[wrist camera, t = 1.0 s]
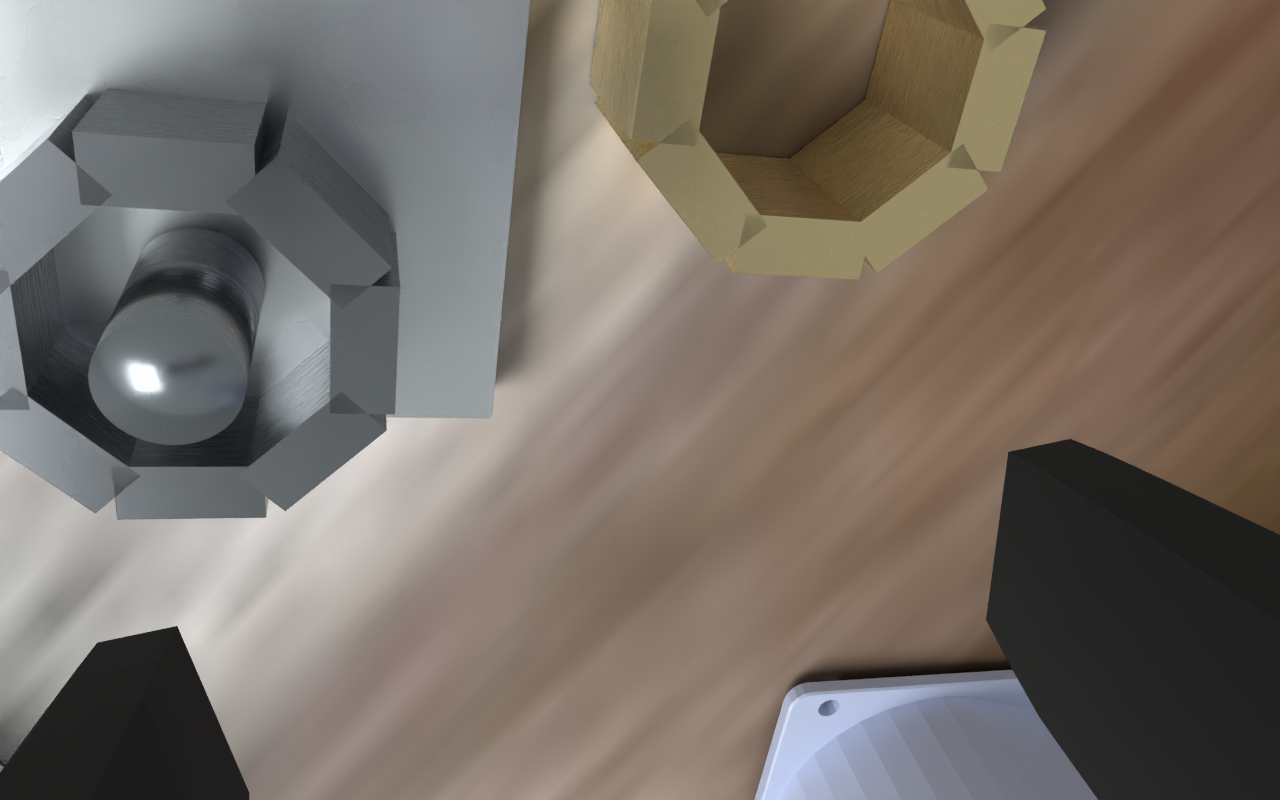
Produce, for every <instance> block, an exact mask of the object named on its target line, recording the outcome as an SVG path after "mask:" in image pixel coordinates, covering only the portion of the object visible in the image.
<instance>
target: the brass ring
mask: <svg viewBox="0 0 1280 800" xmlns="http://www.w3.org/2000/svg"><path fill="white" fill-rule="evenodd" d="M727 1H728V0H600V5H599V13H598V22H597V30H596V38H595V46H594V54H593V62H592V71H591V79H590V85H591V87H592V88H593V89H594V91H595V92H596V93H597V95H598V96H599V97H600V99H598V100H597V101H596V102H595V104H596V105H597V107H598V108H599V109H600V111H601V112H602V114H603V115H604V116H605V118H606V119H607V121H608V122H609V123H610V125H611V126H612V128H613V129H614V130H615V132H616V133H617V135H618V136H619V137H620V139H621V140H622V142H623V143H624V144H625V146H626V147H627V148H628V150H629V151H630V153H631V154H632V155H633V157H634V158H635V160H636V161H637V162H638V164H639V165H640V166H641V168H642V169H643V170H644V171H645V173H646V174H647V175H648V177H649V178H650V179H651V180H652V182H653V183H654V184H655V186H656V187H657V188H658V189H659V191H660V192H661V193H662V195H663V196H664V197H665V198H666V200H667V201H668V202H669V204H670V205H671V206H672V207H673V209H674V210H675V211H676V213H677V214H678V215H679V216H680V218H681V219H682V220H683V222H684V223H685V224H686V225H687V227H688V228H689V229H690V231H691V232H692V233H693V234H694V236H695V237H696V238H697V240H698V241H699V242H700V243H701V245H702V246H703V247H704V249H705V250H706V251H707V252H708V254H709V255H710V256H711V258H712V259H713V260H714V261H715V263H716V264H717V265H718V264H719V263H720V262H722V261H723V260H724V261H725V262H726V264H727V265H728V266H729V268H730V269H731V270H732V272H733V273H741V274H761V275H780V276H800V277H819V278H839V279H858V280H859V277H860V273H861V269H862V266H863V262H864V261H865V262H866V263H867V264H868V265H869V266H870V267H871V268H872V269H873V270H874V271H875V272H876V273H878V272H880V271H881V270H882V269H884V268H885V267H886V266H888V265H889V264H890V263H892V262H893V261H894V260H896V259H897V258H898V257H900V256H901V255H902V254H904V253H905V252H906V251H907V250H909V249H910V248H911V247H913V246H914V245H915V244H917V243H918V242H919V241H921V240H922V239H923V238H925V237H926V236H927V235H929V234H930V233H931V232H933V231H934V230H935V229H937V228H938V227H939V226H941V225H942V224H943V223H945V222H946V221H947V220H949V219H950V218H951V217H953V216H954V215H955V214H956V213H958V212H959V211H960V210H962V209H963V208H964V207H966V206H967V205H968V204H970V203H971V202H972V201H974V200H975V199H976V198H978V197H979V196H980V195H982V194H983V193H984V192H986V191H987V190H988V188H987V186H986V184H985V183H984V181H983V179H982V177H981V175H980V174H979V172H978V170H982V171H994V172H1001V170H1002V167H1003V164H1004V160H1005V157H1006V154H1007V151H1008V148H1009V145H1010V142H1011V139H1012V136H1013V133H1014V130H1015V126H1016V123H1017V120H1018V117H1019V114H1020V111H1021V108H1022V105H1023V102H1024V99H1025V96H1026V92H1027V89H1028V86H1029V83H1030V80H1031V77H1032V74H1033V71H1034V68H1035V65H1036V62H1037V58H1038V55H1039V52H1040V49H1041V46H1042V43H1043V40H1044V37H1045V34H1046V30H1043V29H1041V28H1038V27H1035V26H1033V25H1030V24H1027V23H1029V22H1030V21H1031V20H1032V19H1034V18H1035V17H1036V16H1038V15H1039V14H1040V13H1041V12H1043V11H1044V10H1045V9H1046V8H1045V5H1044V3H1043V1H1042V0H890V3H889V7H888V11H887V15H886V19H885V23H884V27H883V31H882V35H881V39H880V43H879V47H878V51H877V55H876V59H875V63H874V67H873V71H872V75H871V79H870V83H869V87H868V91H867V95H866V99H865V100H863V101H862V102H861V103H860V104H858V105H857V106H856V107H855V108H853V109H852V110H851V111H850V112H848V113H847V114H846V115H844V116H843V117H842V118H841V119H839V120H838V121H837V122H836V123H834V124H833V125H832V126H830V127H829V128H828V129H827V130H825V131H824V132H823V133H822V134H820V135H819V136H818V137H817V138H815V139H814V140H813V141H811V142H810V143H809V144H808V145H806V146H805V147H804V148H803V149H801V150H800V151H799V152H797V153H796V154H795V155H794V156H792V157H791V158H790V159H789V158H777V157H765V156H753V155H741V154H729V153H717V152H714V151H713V149H712V148H711V146H710V145H709V144H708V142H707V141H706V139H705V138H704V137H703V135H702V134H701V133H700V131H699V127H700V122H701V116H702V110H703V105H704V99H705V93H706V88H707V82H708V76H709V71H710V65H711V59H712V54H713V48H714V42H715V37H716V31H717V25H718V20H719V14H720V8H721V6H722V5H723V4H725V3H726V2H727Z"/></svg>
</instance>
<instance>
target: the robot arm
mask: <svg viewBox="0 0 1280 800" xmlns="http://www.w3.org/2000/svg"><path fill="white" fill-rule="evenodd" d="M986 620H987V622H988V624H989V626H990V628H991V630H992V632H993V634H994V636H995V637H996V639H997V641H998V643H999V645H1000V647H1001V649H1002V651H1003V653H1004V655H1005V657H1006V658H1007V660H1008V662H1009V664H1010V666H1011V668H1012V670H1000V671H984V672H968V673H951V674H935V675H919V676H903V677H887V678H871V679H855V680H839V681H823V682H807V683H803V684H799V685H797V686H795V687H793V688H792V689H791V690H790V691H789V692H788V693H787V695H786V697H785V699H784V701H783V705H782V708H781V712H780V715H779V718H778V722H777V725H776V729H775V732H774V735H773V739H772V742H771V746H770V749H769V752H768V756H767V759H766V763H765V766H764V769H763V773H762V776H761V780H760V783H759V786H758V790H757V793H756V797H755V800H1280V535H1279V534H1277V533H1275V532H1272V531H1270V530H1268V529H1266V528H1264V527H1262V526H1260V525H1258V524H1255V523H1253V522H1251V521H1249V520H1247V519H1245V518H1243V517H1241V516H1238V515H1236V514H1234V513H1232V512H1230V511H1228V510H1226V509H1224V508H1222V507H1220V506H1217V505H1215V504H1213V503H1211V502H1209V501H1207V500H1205V499H1203V498H1201V497H1198V496H1196V495H1194V494H1192V493H1190V492H1188V491H1186V490H1184V489H1182V488H1180V487H1177V486H1175V485H1173V484H1171V483H1169V482H1167V481H1165V480H1163V479H1161V478H1158V477H1156V476H1154V475H1152V474H1150V473H1148V472H1145V471H1143V470H1141V469H1139V468H1137V467H1135V466H1133V465H1130V464H1128V463H1126V462H1124V461H1122V460H1119V459H1117V458H1115V457H1113V456H1110V455H1108V454H1106V453H1103V452H1101V451H1099V450H1096V449H1094V448H1092V447H1089V446H1087V445H1084V444H1082V443H1079V442H1077V441H1074V440H1072V439H1068V440H1063V441H1058V442H1054V443H1049V444H1044V445H1039V446H1035V447H1030V448H1025V449H1020V450H1016V451H1011V452H1008V459H1007V467H1006V474H1005V482H1004V489H1003V497H1002V505H1001V512H1000V520H999V527H998V535H997V542H996V550H995V557H994V565H993V572H992V580H991V587H990V595H989V602H988V610H987V618H986ZM825 701H826V702H825ZM0 800H249V791H248V789H247V787H246V784H245V782H244V780H243V777H242V775H241V773H240V770H239V768H238V766H237V763H236V761H235V759H234V757H233V754H232V752H231V750H230V747H229V745H228V743H227V740H226V738H225V736H224V733H223V731H222V729H221V726H220V724H219V722H218V719H217V717H216V715H215V713H214V710H213V708H212V706H211V703H210V701H209V699H208V696H207V694H206V692H205V689H204V687H203V685H202V682H201V680H200V678H199V676H198V673H197V671H196V669H195V666H194V664H193V662H192V659H191V657H190V655H189V652H188V650H187V648H186V645H185V643H184V641H183V638H182V636H181V634H180V632H179V629H178V627H177V626H175V627H170V628H166V629H161V630H156V631H151V632H146V633H142V634H137V635H132V636H127V637H123V638H118V639H113V640H108V641H104V642H99V643H97V644H96V645H95V646H94V648H93V649H92V650H91V652H90V653H89V654H88V655H87V657H86V658H85V659H84V661H83V662H82V663H81V664H80V666H79V667H78V668H77V670H76V671H75V672H74V674H73V675H72V676H71V678H70V679H69V680H68V682H67V683H66V684H65V686H64V687H63V688H62V690H61V691H60V692H59V694H58V695H57V696H56V698H55V699H54V700H53V702H52V703H51V704H50V706H49V707H48V708H47V710H46V711H45V712H44V714H43V715H42V716H41V718H40V719H39V720H38V722H37V723H36V724H35V726H34V727H33V728H32V730H31V731H30V733H29V734H28V735H27V737H26V738H25V739H24V741H23V742H22V743H21V745H20V746H19V747H18V749H17V750H16V751H15V753H14V754H13V755H12V757H11V758H10V759H9V761H8V762H7V763H6V765H5V766H4V768H3V769H2V770H1V772H0Z"/></svg>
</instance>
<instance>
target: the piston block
mask: <svg viewBox="0 0 1280 800" xmlns="http://www.w3.org/2000/svg"><path fill="white" fill-rule="evenodd" d="M529 8H530V0H0V451H2V452H3V453H5V454H6V455H8V456H9V457H11V458H12V459H14V460H15V461H17V462H18V463H20V464H21V465H23V466H24V467H26V468H28V469H29V470H31V471H32V472H34V473H35V474H37V475H38V476H40V477H41V478H43V479H44V480H46V481H47V482H49V483H50V484H52V485H53V486H55V487H56V488H58V489H59V490H61V491H62V492H64V493H65V494H67V495H68V496H70V497H71V498H73V499H74V500H76V501H77V502H79V503H80V504H82V505H84V506H85V507H87V508H88V509H90V510H91V511H93V512H94V513H97V512H98V511H99V510H100V509H101V508H103V507H104V506H105V505H106V504H107V503H109V502H110V501H111V500H112V499H113V498H115V503H116V512H117V520H121V519H192V518H264V517H266V513H267V506H268V498H269V499H270V500H271V501H273V502H274V503H275V504H277V505H278V506H279V507H281V508H282V509H283V510H285V511H286V510H287V509H289V508H290V507H291V506H292V505H294V504H295V503H296V502H297V501H299V500H300V499H301V498H302V497H304V496H305V495H306V494H307V493H309V492H310V491H311V490H312V489H314V488H315V487H316V486H317V485H319V484H320V483H321V482H322V481H324V480H325V479H326V478H327V477H329V476H330V475H331V474H332V473H334V472H335V471H336V470H337V469H339V468H340V467H341V466H342V465H344V464H345V463H346V462H348V461H349V460H350V459H351V458H353V457H354V456H355V455H356V454H358V453H359V452H360V451H361V450H363V449H364V448H365V447H366V446H368V445H369V444H370V443H371V442H373V441H374V440H375V439H376V438H378V437H379V436H380V435H381V434H383V433H384V432H385V431H386V417H414V418H492V411H493V401H494V390H495V379H496V368H497V357H498V346H499V335H500V324H501V313H502V303H503V292H504V281H505V270H506V259H507V248H508V237H509V226H510V215H511V204H512V194H513V183H514V172H515V161H516V150H517V139H518V128H519V117H520V106H521V96H522V85H523V74H524V63H525V52H526V41H527V30H528V19H529Z"/></svg>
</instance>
